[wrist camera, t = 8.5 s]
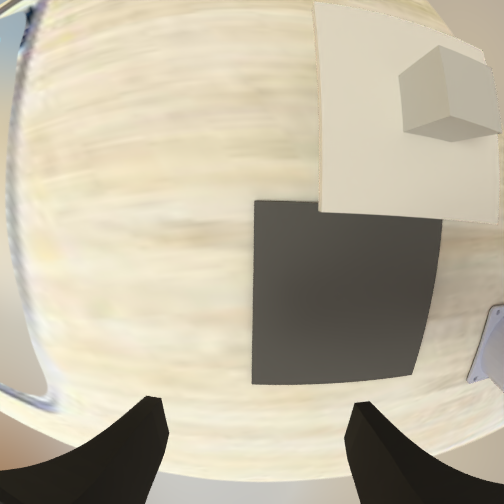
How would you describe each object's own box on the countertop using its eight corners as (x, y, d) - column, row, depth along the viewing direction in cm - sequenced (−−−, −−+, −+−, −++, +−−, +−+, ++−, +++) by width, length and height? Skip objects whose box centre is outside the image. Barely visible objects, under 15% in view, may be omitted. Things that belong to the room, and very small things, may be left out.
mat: (440, 211, 17) (442, 212, 17) (409, 372, 20) (411, 374, 19) (254, 201, 18) (254, 201, 17) (252, 381, 20) (251, 384, 20)
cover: (475, 53, 10) (520, 31, 6) (489, 222, 13) (545, 236, 8) (311, 9, 11) (327, -47, 6) (318, 210, 13) (347, 222, 8)
